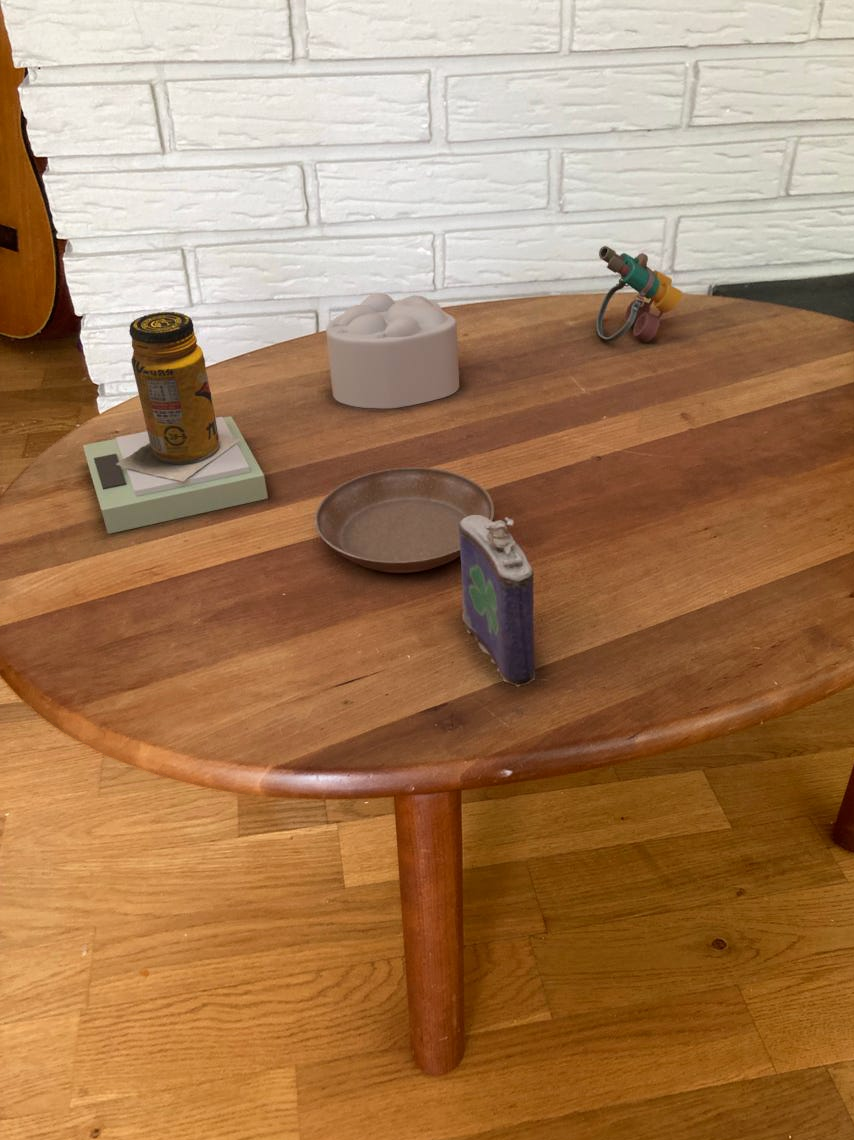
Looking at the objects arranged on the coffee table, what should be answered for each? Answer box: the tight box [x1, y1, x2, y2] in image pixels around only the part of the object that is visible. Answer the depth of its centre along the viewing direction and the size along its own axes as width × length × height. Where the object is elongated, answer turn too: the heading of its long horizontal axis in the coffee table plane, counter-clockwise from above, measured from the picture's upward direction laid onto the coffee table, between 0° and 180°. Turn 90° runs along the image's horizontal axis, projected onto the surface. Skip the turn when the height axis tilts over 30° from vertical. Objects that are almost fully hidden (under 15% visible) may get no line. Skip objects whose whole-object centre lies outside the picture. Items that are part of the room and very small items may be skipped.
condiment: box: [116, 311, 239, 481], centre depth 93 cm, size 7×8×12 cm
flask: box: [459, 515, 536, 688], centre depth 75 cm, size 9×3×11 cm, turn 24°
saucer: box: [314, 466, 495, 574], centre depth 90 cm, size 15×15×3 cm
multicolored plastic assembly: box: [596, 245, 683, 343], centre depth 121 cm, size 9×9×10 cm
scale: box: [82, 415, 269, 535], centre depth 98 cm, size 14×13×3 cm
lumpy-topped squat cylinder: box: [325, 292, 460, 409], centre depth 112 cm, size 10×13×9 cm
